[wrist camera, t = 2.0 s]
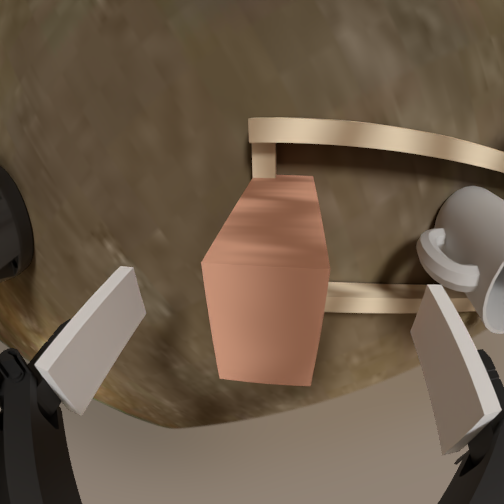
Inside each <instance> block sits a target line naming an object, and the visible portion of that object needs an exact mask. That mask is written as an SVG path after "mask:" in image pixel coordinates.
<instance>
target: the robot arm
mask: <svg viewBox="0 0 504 504" xmlns="http://www.w3.org/2000/svg"><path fill="white" fill-rule="evenodd" d="M32 255H33V238H32V231H31V226H30V221H29V217H28V214H27V211H26V208H25V205H24V202H23V200H22V197H21V195H20V193H19V191H18V189H17V187H16V185H15V183H14V182H13V180H12V179H11V177H10V176H9V174H8V173H7V172H6V171H5V170H4V169H3V168H2V167H0V282H3V281H5V280H8V279H11V278H14V277H16V276H17V275H19V274H20V273H21V272H22V271H23V270H24V269H26V268H27V267H28V266H29V264H30V262H31V259H32ZM145 315H146V311H145V308H144V304H143V301H142V297H141V294H140V290H139V287H138V283H137V279H136V276H135V272H134V268H133V267H124V266H120V267H119V268H118V269H117V270H116V271H115V272H114V273H113V274H112V275H111V276H110V277H109V278H108V280H107V281H106V282H105V283H104V284H103V285H102V286H101V287H100V288H99V289H98V290H97V291H96V292H95V293H94V295H93V296H92V297H91V298H90V299H89V300H88V301H87V302H86V303H85V304H84V306H83V307H82V308H81V309H80V310H79V311H78V312H77V314H76V315H75V316H74V317H73V318H72V319H69V320H67V321H66V322H64V323H63V324H61V325H60V326H59V327H58V329H57V330H56V331H55V332H54V333H53V335H52V336H51V337H50V338H49V339H48V342H46V343H45V344H44V345H43V346H42V348H41V349H40V350H39V351H38V353H37V354H36V355H35V356H34V358H33V359H32V360H31V361H30V363H29V364H28V365H27V364H26V362H25V360H24V359H23V357H22V356H21V354H20V353H19V352H18V350H17V349H14V348H10V349H7V350H5V351H3V352H2V353H1V354H0V408H1V412H0V504H82V502H81V499H80V495H79V492H78V489H77V485H76V481H75V478H74V474H73V470H72V466H71V461H70V458H69V452H68V447H67V442H66V436H65V431H64V424H63V418H62V411H61V408H60V407H59V405H60V403H61V402H62V403H63V404H64V405H65V406H66V407H67V409H68V410H70V411H72V412H74V413H76V414H78V415H81V416H82V415H83V413H84V412H85V410H86V408H87V407H88V404H89V403H90V402H91V400H92V398H93V397H94V395H95V393H96V392H97V390H98V388H99V387H100V385H101V383H102V382H103V380H104V378H105V377H106V375H107V373H108V372H109V370H110V369H111V367H112V365H113V364H114V362H115V361H116V359H117V357H118V356H119V354H120V353H121V351H122V350H123V348H124V346H125V345H126V343H127V342H128V340H129V339H130V337H131V336H132V334H133V333H134V331H135V330H136V328H137V327H138V325H139V324H140V322H141V320H142V319H143V317H144V316H145ZM410 333H411V336H412V339H413V342H414V345H415V348H416V351H417V354H418V357H419V361H420V364H421V367H422V370H423V374H424V377H425V381H426V384H427V388H428V391H429V395H430V400H431V404H432V407H433V412H434V416H435V420H436V425H437V430H438V434H439V440H440V445H441V450H442V455H446V454H450V453H454V452H458V451H460V450H461V449H462V448H463V447H464V446H466V445H467V444H468V447H469V450H468V451H467V452H466V453H465V454H464V455H462V456H461V457H460V458H459V459H457V461H456V462H455V463H454V464H458V463H459V462H460V461H462V462H461V464H460V466H459V468H458V470H457V472H456V473H455V475H454V477H453V479H452V481H451V483H450V485H449V486H448V488H447V490H446V491H445V493H444V495H443V496H442V498H441V500H440V501H439V502H438V504H504V387H503V384H502V382H501V380H500V379H499V375H498V373H497V371H495V366H494V364H493V362H492V360H491V358H490V357H489V356H488V355H487V354H486V352H485V351H483V349H482V350H477V349H476V347H475V345H474V343H473V341H472V339H471V337H470V335H469V333H468V331H467V329H466V327H465V325H464V323H463V321H462V320H461V318H460V316H459V314H458V312H457V311H456V309H455V307H454V305H453V303H452V302H451V300H450V298H449V297H448V295H447V293H446V291H445V290H444V288H443V287H442V285H432V284H427V287H426V290H425V293H424V296H423V299H422V301H421V304H420V307H419V310H418V313H417V315H416V318H415V321H414V323H413V326H412V328H411V331H410Z"/></svg>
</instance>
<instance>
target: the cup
mask: <svg viewBox="0 0 504 504" xmlns="http://www.w3.org/2000/svg"><path fill="white" fill-rule="evenodd" d="M416 249H417V253H418V256H419V259H420V263H421V264H422V266H423V268H424V269H425V271H426V272H427V273H428V274H429V275H430V276H431V277H432V278H433V279H434V280H435V281H437V282H438V283H440V284H441V285H443V286H444V287H447V288H449V289H452V290H455V291H460V292H464V293H465V294H466V296H467V297H468V299H469V300H470V302H471V303H472V305H473V307H474V308H475V310H476V311H477V313H478V315H479V316H480V318H481V320H482V321H483V323H484V325H485V327H486V328H487V329H488V330H490V331H491V332H494V333H498V334H501V333H504V200H502V199H501V198H499V197H498V196H496V195H495V194H493V193H491V192H490V191H488V190H487V189H484V188H482V187H478V186H468V187H464V188H462V189H460V190H458V191H456V192H454V193H453V194H452V195H451V196H450V197H449V198H448V199H447V200H446V201H445V203H444V204H443V205H442V207H441V209H440V211H439V213H438V215H437V218H436V222H435V226H434V229H430V230H426V231H425V232H424V233H422V234H421V236H420V237H419V239H418V241H417V245H416Z"/></svg>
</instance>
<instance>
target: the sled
mask: <svg viewBox="0 0 504 504" xmlns="http://www.w3.org/2000/svg"><path fill="white" fill-rule="evenodd" d="M248 126H249V143H252V173H253V178H252V180H251V181H250V183H249V185H248V186H247V188H246V189H245V191H244V193H243V194H242V196H241V197H240V199H239V201H238V202H237V204H236V205H235V207H234V209H233V210H232V212H231V214H230V215H229V217H228V219H227V220H226V222H225V224H224V225H223V227H222V229H221V230H220V232H219V234H218V235H217V237H216V239H215V240H214V242H213V244H212V245H211V247H210V249H209V250H208V252H207V254H206V255H205V257H204V259H203V261H202V262H201V264H202V272H203V279H204V286H205V293H206V300H207V306H208V313H209V319H210V326H211V332H212V338H213V344H214V349H215V355H216V361H217V366H218V372H219V377H220V379H228V380H236V381H245V382H254V383H265V384H278V385H294V386H311V381H312V376H313V371H314V366H315V361H316V356H317V351H318V345H319V340H320V334H321V328H322V322H323V316H324V312H341V313H418V310H419V307H420V304H421V301H422V299H423V296H424V293H425V290H426V287H427V285H411V284H372V283H343V282H329V275H330V265H329V259H328V252H327V246H326V240H325V235H324V229H323V224H322V218H321V213H320V208H319V203H318V198H317V193H316V188H315V183H314V178H313V176H298V175H277V173H276V143H309V144H328V145H342V146H354V147H365V148H374V149H383V150H391V151H399V152H406V153H412V154H419V155H425V156H431V157H436V158H442V159H447V160H452V161H457V162H462V163H466V164H471V165H475V166H479V167H484V168H488V169H492V170H495V171H499V172H503V173H504V152H503V151H500V150H497V149H494V148H490V147H487V146H484V145H480V144H476V143H473V142H469V141H465V140H461V139H457V138H453V137H448V136H444V135H439V134H435V133H430V132H425V131H419V130H414V129H408V128H402V127H395V126H388V125H381V124H373V123H365V122H355V121H344V120H331V119H314V118H281V117H263V118H249V119H248ZM442 287H443V288H444V290H445V291H446V293H447V295H448V297H449V298H450V300H451V302H452V303H453V305H454V307H455V309H456V311H457V312H468V311H476V310H475V308H474V307H473V305H472V303H471V302H470V300H469V299H468V297H467V296H466V294H465V293H464V292H460V291H455V290H452V289H449V288H447V287H444V286H443V285H442Z"/></svg>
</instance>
